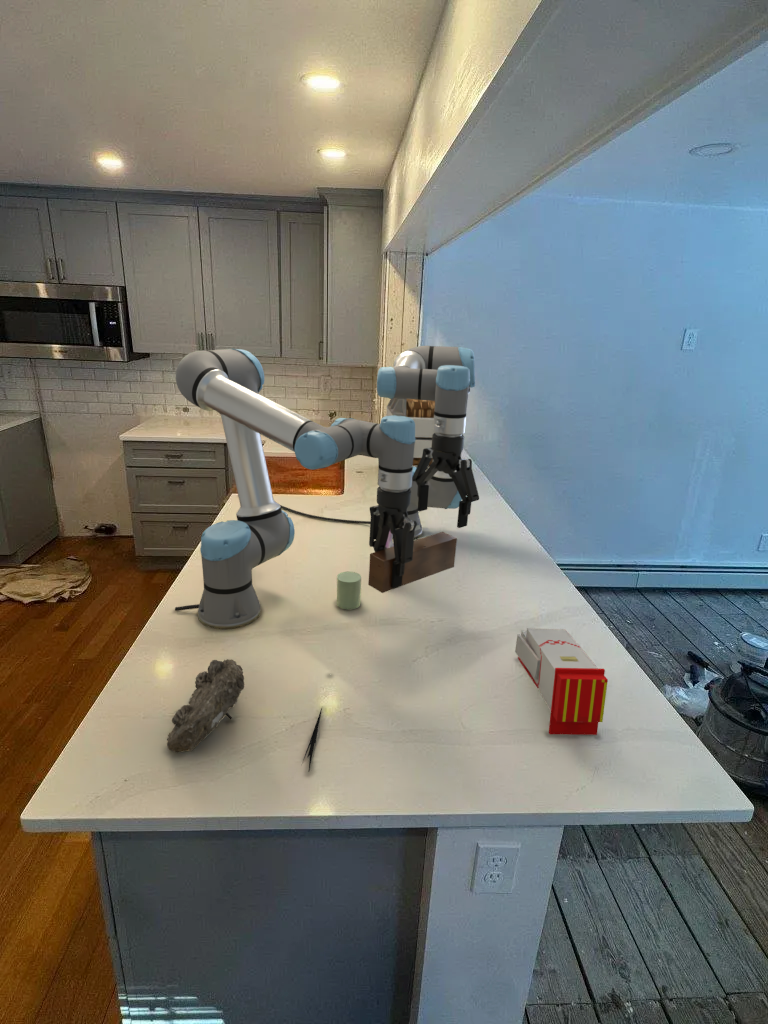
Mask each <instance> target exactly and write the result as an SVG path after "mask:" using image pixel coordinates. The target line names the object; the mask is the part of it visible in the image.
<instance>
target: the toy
mask: <svg viewBox="0 0 768 1024" xmlns="http://www.w3.org/2000/svg"><path fill="white" fill-rule="evenodd" d="M520 632H521V633H520V634H519V633H518V634H517V635H516V642H515V647H514V653H515V654H516V655H517V660H518V661H519V663H520V664H521V666H522V667H523V669H524V670H525V672H526V673H527V675H528V676H529V678H530V680H531V681H532V683H533V684H534V685H535V687H536V688H537V689H538V692H539V694H540V696H541V697H542V699H543V701H544V702H545V704H546V706H547V708H548V710H549V711H550V716H549V724H548V734H549V735H566V736H567V735H568V736H569V735H571V736H575V735H576V736H597V735H598V730H599V723H603V722H604V714H605V705H606V698H607V689H608V682H609V680H608V678H607V677H606V676H605V674H606V669H604V668H599V667H598V666H597V664H596V663H594V662H593V660H592V659H591V657H589V655H588V654H587V653H586V652H585V650H584V649H583V648H582V647H581V646H580V644H579V643H578V642H577V641H576V640H575V639H574V637H573V636H572V635H571V634H570V632H569V631H568V630H567V629H566V628H535V627H534V628H533V627H532V628H531V627H529V628H526V630H523V629H521V631H520Z"/></svg>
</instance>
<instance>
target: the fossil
mask: <svg viewBox="0 0 768 1024" xmlns="http://www.w3.org/2000/svg"><path fill="white" fill-rule="evenodd" d="M243 670H244V669H243V667H242V665H240V664H237V662H236V661H235V660H234V659H232V658H231V659H227V658H226V659H224V660H223V661H222V660H217V659H212V660H211V661H210V663H209V665H208V666H207V671H201V672H199V673H198V674H197V675H196V676H195V680H194V684H195V685H194V687H195V689H194V690H193V693H192V694H191V697H190V698H189V700H188V704H184V705H182V706H181V707H180V709H177V710H176V711H175V713H174V715H173V716H172V718H171V723H172V724H173V727H172V730H171V731H170V732H168V734H167V738H166V741H167V742H166V745H167V749H168V750H169V751H173V752H174V753H176V754H178V753H182V752H188V751H189V752H192V751H193V750H195V748H196V747H197V746H199V744H200V743H201V742H203V741H204V740H205V739H206V738H207V737H208V736H209V735H210V734H211V733H212V732H214V730H215V729H217V727H218V726H219V724H220V722H221V721H222V720H223V719H224V718H225V716H226V717H227V719H229V720H233V717H232V715H230V714H229V710H230V709H231V708H234V706H235V704H236V703H237V702H238V699H239V697H240V695H241V693H242V691H243V690H245V689H244V688H245V675H244V671H243Z"/></svg>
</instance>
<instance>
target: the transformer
mask: <svg viewBox="0 0 768 1024" xmlns="http://www.w3.org/2000/svg"><path fill="white" fill-rule="evenodd" d="M434 411H435V401H430V400H417V399H396V398H392V399H390V400H389V402H388V404H387V405H386V413H385V414H386V415H385V416H393V415H395V416H405V417H409V418H411V419H413V420H414V422H415V439H416V441H415V445H414V456H413V467H417V466H418V464H419V462H420V460H421V458H422V454H423V449H426V448H431V447H432V435H433V434H434V433H435V432H434V431H433V422H434ZM462 435H463V436H464V434H462ZM462 453H463V451H462V452H461V454H462ZM461 459H463V458H462V457H461ZM432 462H433V458H432V459H431V461H430V463H429V465H428V467H429V466H430V465H431V463H432Z"/></svg>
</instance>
